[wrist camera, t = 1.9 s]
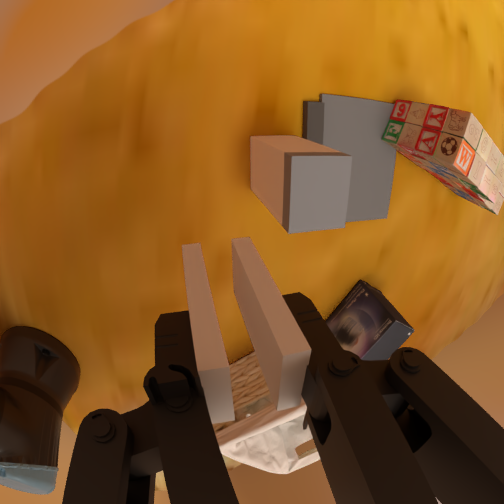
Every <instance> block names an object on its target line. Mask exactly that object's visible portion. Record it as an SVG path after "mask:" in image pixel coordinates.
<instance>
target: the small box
mask: <svg viewBox="0 0 504 504" xmlns="http://www.w3.org/2000/svg"><path fill="white" fill-rule="evenodd" d="M325 322H326V324H327V325H328V327H329V328H330V330H331V331H332V333H333V334H334V336H335V337H336V339H337V341H338V342H339V344H340V345H341V347H342V348H343V349H344V350H347V351H351V352H353V353H354V354H356V355H358V356H359V357H360V359H361V360H369V361H371V360H388V359H389V358H390V357H391V355H392V353H393V352H394V351H395V350H397V349H398V348H399V347H400V346H401V345H402V344H403V343H404V342H405V341H406V340H407V339H408V337H409V336H410V335H411V334H412V333H413V332H414V329H413V328H412V327H411V326H410V325H409V323H408V322H407V321H406V320H405V319H404V318H403V317H402V315H401V314H400V313H399V312H398V311H397V310H396V309H395V307H394V306H393V305H392V304H391V303H390V302H389V301H388V300H387V299H386V298H385V296H384V295H383V294H382V292H381V291H379V290H377V289H375V288H374V287H372V286H371V285H369V284H368V283H366V282H364V281H362V280H360V281H359V282H358V283H357V284H356V286H355V287H354V288H353V289H352V290H351V292H350V293H349V294H348V295H347V297H346V298H345V299H344V300H343V301H342V302H341V304H340V305H339V306H338V307H337V308H336V309H335V311H334V312H333V313H332V314H331V315H330V316H329V318H328V319H327V320H326V321H325Z"/></svg>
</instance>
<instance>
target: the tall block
mask: <svg viewBox="0 0 504 504" xmlns="http://www.w3.org/2000/svg"><path fill="white" fill-rule="evenodd" d="M250 165H251V190H252V191H253V192H254V193H255V195H256V196H257V197H258V198H259V199H260V200H261V202H262V203H263V204H264V205H265V206H266V207H267V209H268V210H269V211H270V212H271V213H272V215H273V216H274V217H275V218H276V219H277V220H278V222H279V223H280V224H281V225H282V226H283V228H284V229H285V230H286V231H287V232H288V234H291V233H299V232H308V231H317V230H327V229H336V228H345V221H346V213H347V205H348V196H349V187H350V176H351V165H352V156H351V155H348V154H345V153H343V152H340V151H337V150H335V149H332V148H329V147H327V146H324V145H321V144H318V143H315V142H312V141H310V140H307V139H304V138H301V137H298V136H294V135H277V136H250Z"/></svg>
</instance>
